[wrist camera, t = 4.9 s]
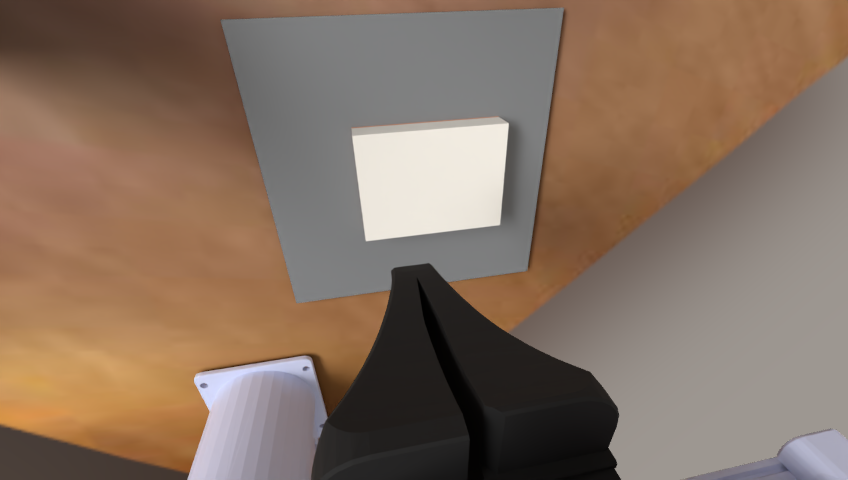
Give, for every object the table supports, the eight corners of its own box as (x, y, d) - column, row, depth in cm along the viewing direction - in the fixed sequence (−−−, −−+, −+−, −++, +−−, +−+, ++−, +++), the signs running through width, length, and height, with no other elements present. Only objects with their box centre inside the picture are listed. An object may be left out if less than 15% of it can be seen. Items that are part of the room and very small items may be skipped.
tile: (364, 227, 23) (491, 213, 24) (365, 241, 21) (500, 225, 22) (351, 127, 20) (497, 116, 21) (352, 135, 18) (508, 123, 19)
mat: (524, 267, 27) (527, 270, 27) (297, 299, 25) (296, 303, 24) (559, 7, 19) (563, 7, 18) (222, 19, 17) (220, 19, 16)
